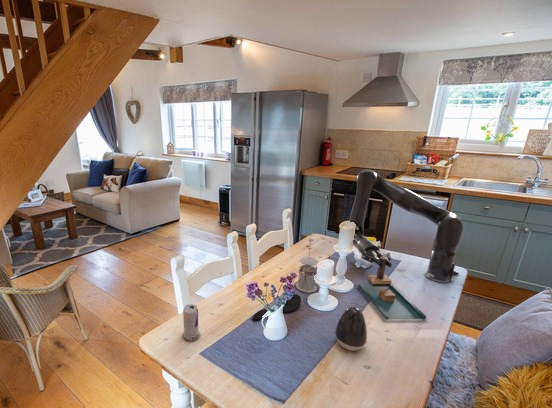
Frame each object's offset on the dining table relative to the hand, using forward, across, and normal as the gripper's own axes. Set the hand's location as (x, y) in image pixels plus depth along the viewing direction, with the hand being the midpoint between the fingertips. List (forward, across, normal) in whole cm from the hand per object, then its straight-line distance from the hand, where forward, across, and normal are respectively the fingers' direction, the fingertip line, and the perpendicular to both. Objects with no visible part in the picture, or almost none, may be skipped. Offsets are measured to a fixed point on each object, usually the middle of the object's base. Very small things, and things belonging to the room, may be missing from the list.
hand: (386, 265), depth 134 cm
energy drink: (+26, -84, +16) cm, 90 cm away
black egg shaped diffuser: (+31, -28, +16) cm, 44 cm away
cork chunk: (+4, 0, +14) cm, 15 cm away
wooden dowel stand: (-3, 0, +11) cm, 12 cm away
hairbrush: (+10, -49, +16) cm, 53 cm away
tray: (+6, 0, +15) cm, 16 cm away
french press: (-7, -32, +16) cm, 36 cm away
